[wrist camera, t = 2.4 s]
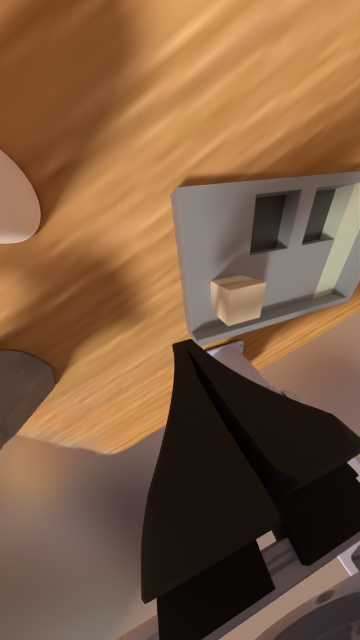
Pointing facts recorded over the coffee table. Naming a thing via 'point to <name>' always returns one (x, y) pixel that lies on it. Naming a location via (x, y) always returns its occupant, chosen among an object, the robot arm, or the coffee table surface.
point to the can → (16, 204)
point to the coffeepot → (21, 389)
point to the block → (237, 298)
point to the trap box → (268, 246)
